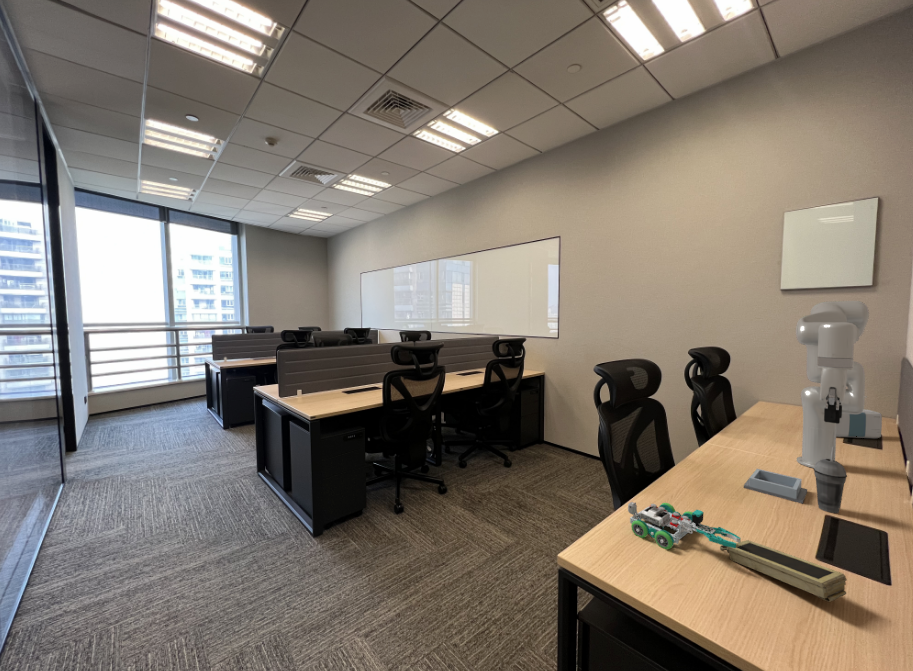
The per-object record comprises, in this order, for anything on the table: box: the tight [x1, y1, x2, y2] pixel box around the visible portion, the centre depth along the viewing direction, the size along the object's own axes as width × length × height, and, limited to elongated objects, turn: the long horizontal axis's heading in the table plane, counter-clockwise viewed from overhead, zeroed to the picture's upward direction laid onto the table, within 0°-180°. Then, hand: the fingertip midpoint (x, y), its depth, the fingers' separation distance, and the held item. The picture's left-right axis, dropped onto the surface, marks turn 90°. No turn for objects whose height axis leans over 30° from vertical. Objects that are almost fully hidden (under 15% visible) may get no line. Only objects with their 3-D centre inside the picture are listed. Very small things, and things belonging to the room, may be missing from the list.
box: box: [719, 539, 848, 603], centre depth 84 cm, size 8×22×5 cm, turn 22°
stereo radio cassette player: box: [836, 395, 883, 440], centre depth 183 cm, size 21×8×20 cm, turn 80°
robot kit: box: [627, 501, 741, 550], centre depth 98 cm, size 19×25×9 cm
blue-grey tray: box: [743, 468, 808, 505], centre depth 126 cm, size 12×15×4 cm
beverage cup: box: [813, 447, 848, 514], centre depth 113 cm, size 7×7×20 cm
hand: (833, 419), depth 111 cm, fingers open, 9 cm apart
